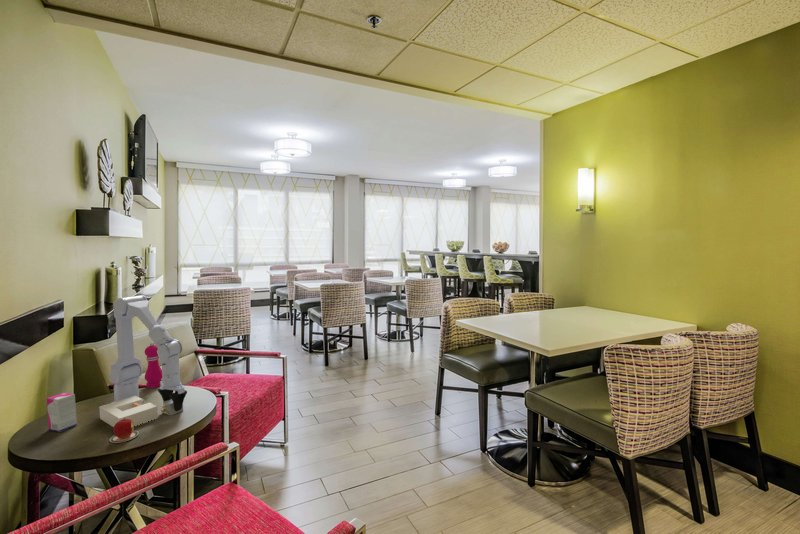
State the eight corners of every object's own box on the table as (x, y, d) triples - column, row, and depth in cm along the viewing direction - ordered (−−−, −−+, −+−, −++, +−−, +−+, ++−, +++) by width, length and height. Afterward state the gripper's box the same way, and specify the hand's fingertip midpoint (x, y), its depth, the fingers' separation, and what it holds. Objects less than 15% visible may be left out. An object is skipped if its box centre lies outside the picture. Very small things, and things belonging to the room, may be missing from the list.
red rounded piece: (131, 430, 138) (129, 411, 137) (143, 435, 134) (142, 416, 133) (104, 440, 131) (103, 421, 131) (117, 446, 127) (115, 426, 127)
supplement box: (77, 424, 142) (75, 393, 142) (59, 432, 137) (56, 400, 136) (66, 422, 144) (64, 391, 143) (47, 430, 139) (45, 398, 138)
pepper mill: (167, 384, 181) (164, 341, 180) (150, 389, 175) (147, 344, 173) (158, 381, 185) (156, 339, 183) (142, 386, 179) (139, 342, 177)
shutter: (133, 413, 150) (132, 403, 150) (136, 412, 151) (135, 402, 151) (139, 416, 147) (139, 406, 147) (142, 415, 148) (142, 405, 148)
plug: (160, 414, 150) (159, 402, 150) (177, 408, 155) (176, 397, 155) (166, 417, 148) (165, 405, 147) (183, 411, 153) (182, 399, 152)
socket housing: (100, 418, 147) (99, 406, 147) (136, 407, 157) (135, 395, 156) (120, 431, 137) (119, 418, 136) (158, 418, 146) (157, 406, 146)
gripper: (150, 372, 152) (153, 407, 153) (169, 379, 143) (171, 416, 144) (170, 367, 157) (172, 401, 158) (189, 374, 149) (191, 409, 150)
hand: (173, 408), depth 152 cm, fingers open, 7 cm apart
